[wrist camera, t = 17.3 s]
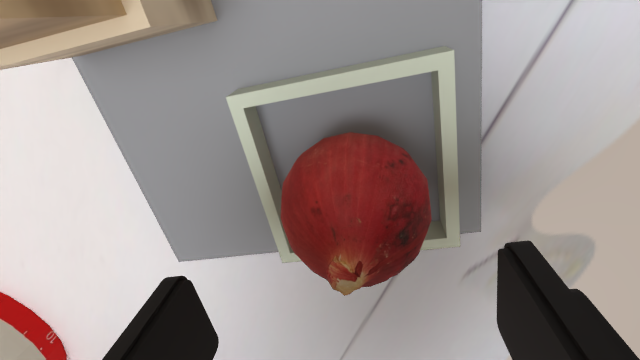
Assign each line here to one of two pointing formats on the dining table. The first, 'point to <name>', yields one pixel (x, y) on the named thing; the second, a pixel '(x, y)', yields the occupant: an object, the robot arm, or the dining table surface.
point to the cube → (51, 17)
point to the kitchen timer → (26, 334)
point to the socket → (346, 77)
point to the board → (279, 106)
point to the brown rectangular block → (112, 31)
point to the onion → (355, 210)
